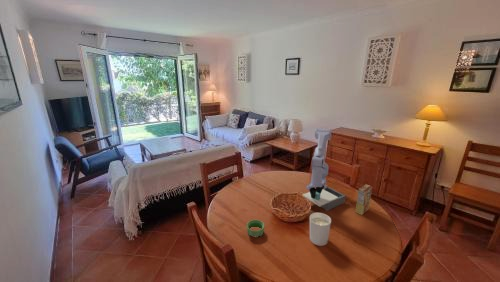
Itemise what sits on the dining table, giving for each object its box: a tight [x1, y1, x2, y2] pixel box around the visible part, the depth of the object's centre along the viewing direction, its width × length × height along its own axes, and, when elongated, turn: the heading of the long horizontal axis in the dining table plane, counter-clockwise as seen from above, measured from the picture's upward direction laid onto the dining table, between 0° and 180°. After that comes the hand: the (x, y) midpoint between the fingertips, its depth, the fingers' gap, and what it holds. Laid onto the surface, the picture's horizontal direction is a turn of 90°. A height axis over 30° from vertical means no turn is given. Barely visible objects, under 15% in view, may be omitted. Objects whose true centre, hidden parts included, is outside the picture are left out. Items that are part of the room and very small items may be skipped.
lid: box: [301, 189, 338, 208], centre depth 131 cm, size 14×16×4 cm
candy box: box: [355, 183, 373, 216], centre depth 124 cm, size 9×4×15 cm, turn 129°
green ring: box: [246, 219, 265, 238], centre depth 110 cm, size 9×9×4 cm
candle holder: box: [309, 212, 332, 247], centre depth 103 cm, size 10×10×12 cm
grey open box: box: [320, 186, 346, 212], centre depth 136 cm, size 14×16×5 cm
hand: (315, 196), depth 130 cm, fingers open, 4 cm apart
